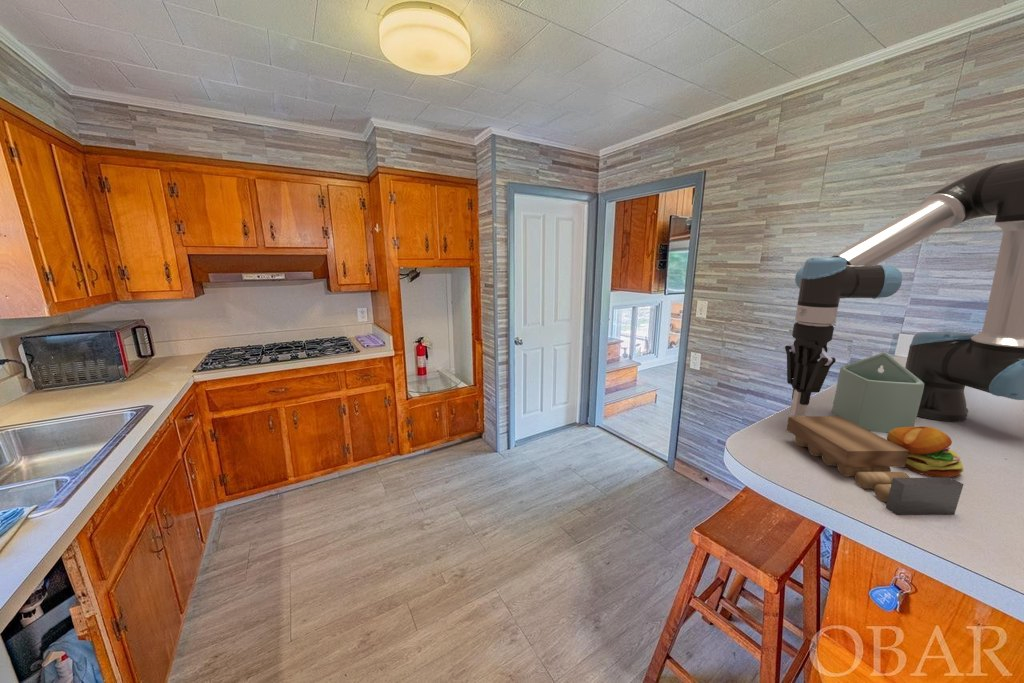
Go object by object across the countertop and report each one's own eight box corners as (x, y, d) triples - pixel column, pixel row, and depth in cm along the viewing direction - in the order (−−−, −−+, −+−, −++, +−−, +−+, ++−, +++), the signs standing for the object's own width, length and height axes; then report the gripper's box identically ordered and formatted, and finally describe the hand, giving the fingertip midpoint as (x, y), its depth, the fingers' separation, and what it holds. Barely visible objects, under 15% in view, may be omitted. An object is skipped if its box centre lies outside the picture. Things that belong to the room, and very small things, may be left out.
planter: (819, 417, 102) (832, 349, 98) (832, 411, 106) (845, 345, 101) (900, 442, 88) (920, 364, 84) (912, 434, 92) (931, 359, 87)
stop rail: (941, 506, 66) (950, 477, 65) (954, 514, 64) (963, 484, 63) (885, 507, 66) (892, 477, 65) (896, 514, 64) (904, 484, 63)
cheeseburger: (976, 487, 71) (971, 439, 70) (899, 482, 77) (893, 438, 76) (952, 462, 79) (947, 418, 78) (883, 459, 85) (878, 419, 84)
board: (836, 429, 89) (839, 416, 88) (904, 466, 73) (909, 450, 72) (786, 429, 89) (788, 416, 88) (844, 467, 73) (847, 451, 72)
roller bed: (827, 442, 89) (829, 430, 88) (932, 505, 66) (936, 490, 66) (794, 442, 89) (796, 431, 88) (888, 505, 66) (892, 490, 66)
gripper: (779, 318, 94) (765, 404, 99) (820, 328, 81) (802, 426, 87) (808, 318, 94) (793, 404, 99) (854, 328, 81) (834, 426, 86)
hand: (797, 414), depth 93 cm, fingers closed
